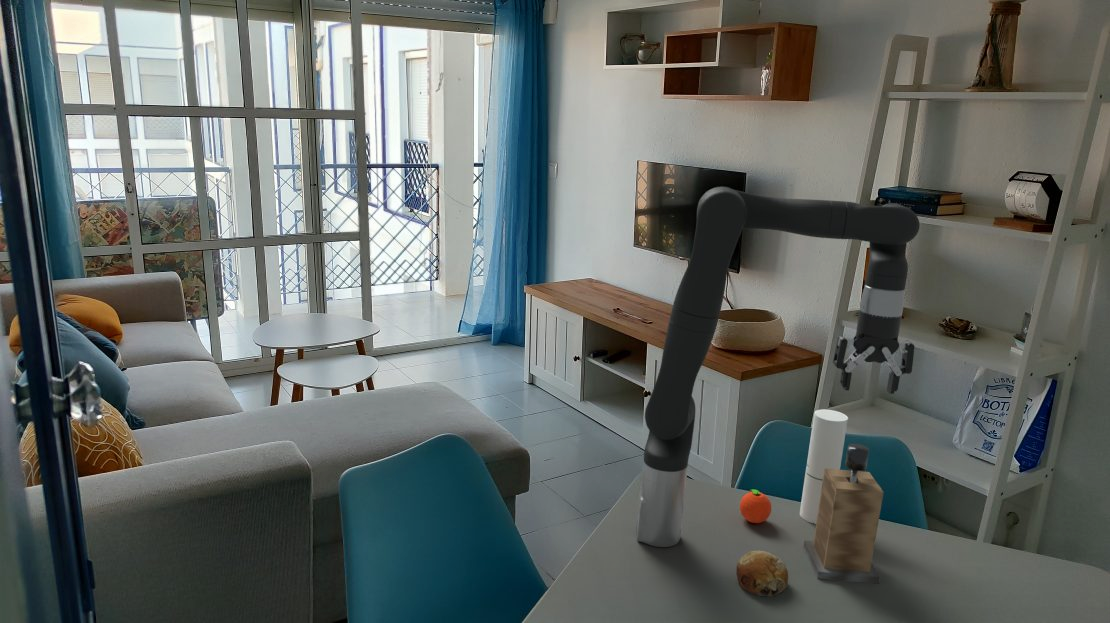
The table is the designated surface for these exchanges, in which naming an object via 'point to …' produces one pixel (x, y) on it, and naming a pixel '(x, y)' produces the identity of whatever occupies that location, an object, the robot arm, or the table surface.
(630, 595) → the table surface
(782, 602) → the table surface
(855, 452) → the plunger
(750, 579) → the bread roll
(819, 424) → the cylindrical container
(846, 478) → the box
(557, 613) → the table surface
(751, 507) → the clementine
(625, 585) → the table surface
